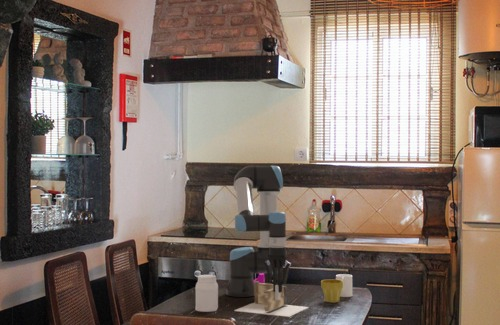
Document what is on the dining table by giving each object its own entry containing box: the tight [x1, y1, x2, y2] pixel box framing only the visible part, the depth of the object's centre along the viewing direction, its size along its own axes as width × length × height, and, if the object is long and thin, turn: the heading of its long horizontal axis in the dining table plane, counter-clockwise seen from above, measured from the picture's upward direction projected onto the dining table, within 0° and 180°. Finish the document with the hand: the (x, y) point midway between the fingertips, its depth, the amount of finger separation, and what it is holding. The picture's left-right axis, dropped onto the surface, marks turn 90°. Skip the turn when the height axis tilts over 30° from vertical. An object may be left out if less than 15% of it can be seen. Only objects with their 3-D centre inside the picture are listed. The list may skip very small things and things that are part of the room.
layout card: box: [234, 301, 310, 318], centre depth 321 cm, size 27×22×1 cm
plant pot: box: [320, 278, 343, 303], centre depth 339 cm, size 10×10×10 cm
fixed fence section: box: [254, 281, 273, 304], centre depth 330 cm, size 14×2×10 cm, turn 62°
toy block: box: [253, 273, 265, 284], centre depth 378 cm, size 15×6×8 cm, turn 86°
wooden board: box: [264, 285, 287, 311], centre depth 319 cm, size 19×2×9 cm, turn 150°
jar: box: [194, 274, 219, 313], centre depth 321 cm, size 12×10×15 cm
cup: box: [335, 273, 353, 298], centre depth 352 cm, size 8×12×10 cm
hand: (277, 299), depth 315 cm, fingers closed
